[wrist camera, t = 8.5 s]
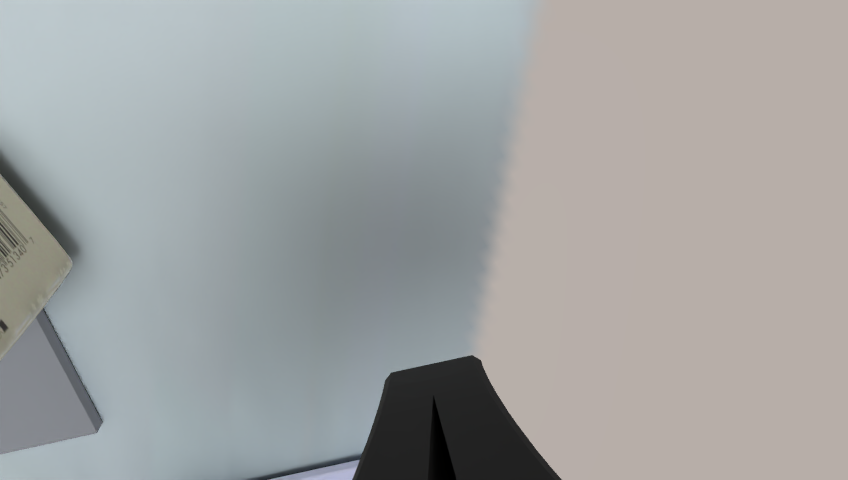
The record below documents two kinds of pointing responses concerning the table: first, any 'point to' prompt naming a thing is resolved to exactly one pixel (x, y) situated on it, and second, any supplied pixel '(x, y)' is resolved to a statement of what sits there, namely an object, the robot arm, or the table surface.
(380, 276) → the table surface
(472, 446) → the robot arm
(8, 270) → the box
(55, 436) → the mat
